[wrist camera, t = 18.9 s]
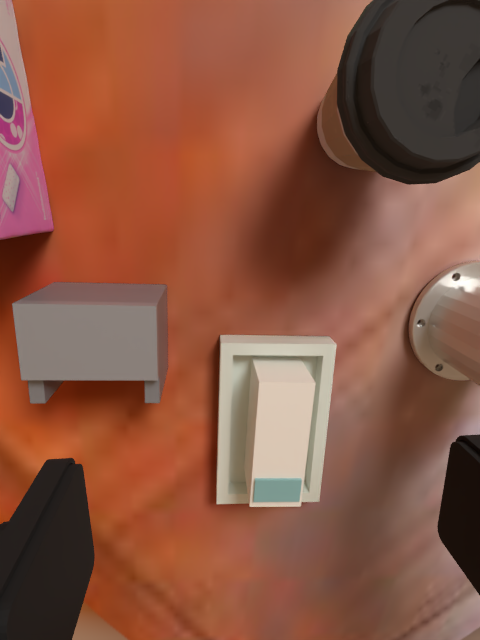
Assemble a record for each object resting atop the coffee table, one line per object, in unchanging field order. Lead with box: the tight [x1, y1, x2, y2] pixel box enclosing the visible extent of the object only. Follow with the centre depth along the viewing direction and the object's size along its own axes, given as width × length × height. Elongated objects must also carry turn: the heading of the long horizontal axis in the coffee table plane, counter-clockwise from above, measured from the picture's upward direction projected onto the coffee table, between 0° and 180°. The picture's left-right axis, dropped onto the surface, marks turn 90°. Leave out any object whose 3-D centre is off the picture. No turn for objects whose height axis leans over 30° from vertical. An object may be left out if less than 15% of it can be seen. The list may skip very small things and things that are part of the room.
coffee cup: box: [317, 0, 480, 184], centre depth 29 cm, size 11×11×15 cm
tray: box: [216, 335, 337, 504], centre depth 42 cm, size 11×18×2 cm, turn 178°
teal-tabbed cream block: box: [244, 357, 316, 507], centre depth 39 cm, size 5×13×6 cm, turn 177°
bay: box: [12, 282, 168, 403], centre depth 35 cm, size 10×9×8 cm
